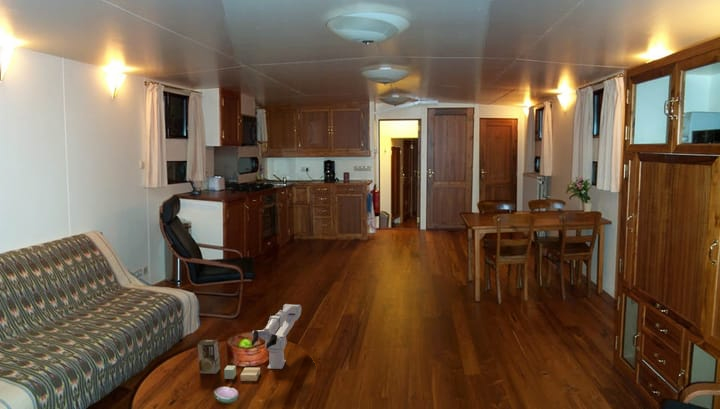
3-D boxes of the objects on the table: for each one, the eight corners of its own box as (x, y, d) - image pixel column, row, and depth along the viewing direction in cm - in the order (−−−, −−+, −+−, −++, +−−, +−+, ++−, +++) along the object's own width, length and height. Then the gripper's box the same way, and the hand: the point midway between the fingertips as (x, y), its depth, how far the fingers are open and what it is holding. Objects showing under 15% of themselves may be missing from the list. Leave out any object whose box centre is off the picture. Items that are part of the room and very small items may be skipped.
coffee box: (220, 368, 266) (218, 339, 264) (216, 374, 260) (214, 344, 258) (204, 367, 267) (202, 339, 265) (199, 373, 261) (197, 344, 259)
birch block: (245, 373, 261) (244, 367, 260) (260, 373, 260) (260, 367, 260) (240, 381, 253) (240, 374, 252) (256, 381, 252) (256, 375, 252)
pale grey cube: (227, 374, 259) (227, 365, 259) (236, 374, 259) (235, 365, 258) (224, 378, 255) (224, 369, 254) (233, 379, 255) (233, 369, 254)
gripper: (257, 320, 258) (246, 335, 246) (283, 326, 256) (274, 341, 244) (256, 332, 261) (245, 347, 248) (282, 338, 258) (273, 353, 246)
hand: (259, 345), depth 246 cm, fingers open, 7 cm apart
